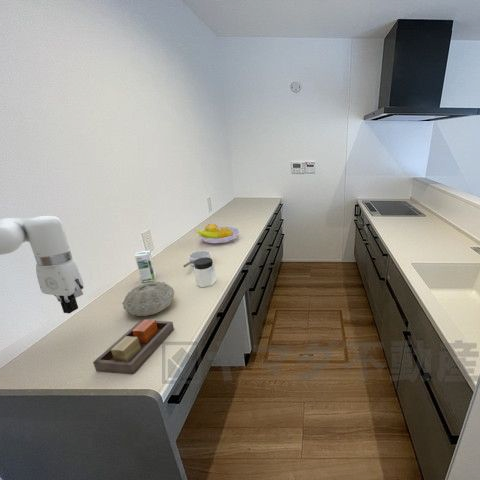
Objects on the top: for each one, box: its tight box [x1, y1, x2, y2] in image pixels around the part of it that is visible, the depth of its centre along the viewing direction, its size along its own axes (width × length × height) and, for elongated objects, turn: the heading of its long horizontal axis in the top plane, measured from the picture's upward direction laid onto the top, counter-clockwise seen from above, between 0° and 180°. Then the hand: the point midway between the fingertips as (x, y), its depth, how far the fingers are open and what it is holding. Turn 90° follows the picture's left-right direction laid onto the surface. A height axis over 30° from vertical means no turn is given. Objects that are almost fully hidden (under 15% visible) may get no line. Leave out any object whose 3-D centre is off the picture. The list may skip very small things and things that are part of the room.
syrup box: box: [134, 250, 157, 283], centre depth 128 cm, size 6×6×14 cm
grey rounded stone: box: [122, 281, 175, 317], centre depth 107 cm, size 18×18×10 cm
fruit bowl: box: [194, 223, 240, 244], centre depth 181 cm, size 28×27×11 cm
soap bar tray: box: [92, 318, 175, 375], centre depth 87 cm, size 12×20×6 cm, turn 175°
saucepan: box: [182, 250, 212, 268], centre depth 143 cm, size 12×20×6 cm, turn 173°
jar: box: [193, 257, 217, 288], centre depth 126 cm, size 9×8×12 cm
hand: (71, 310), depth 84 cm, fingers closed
